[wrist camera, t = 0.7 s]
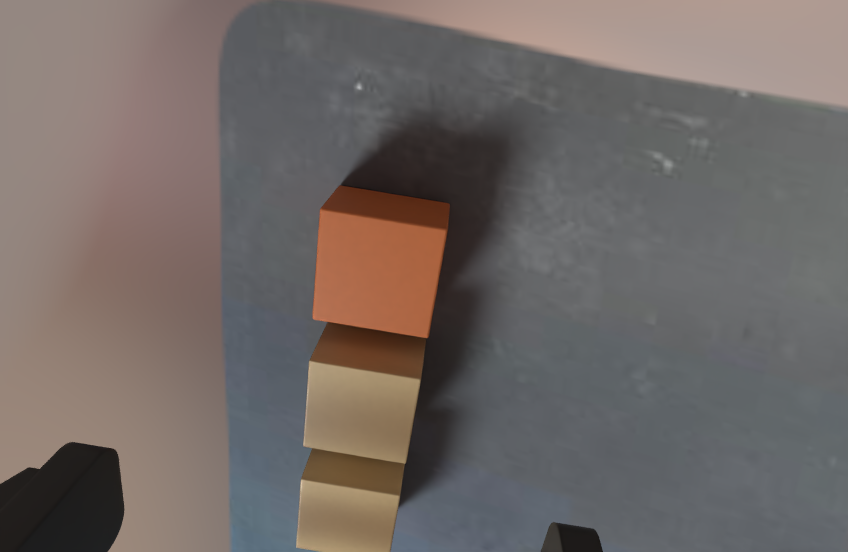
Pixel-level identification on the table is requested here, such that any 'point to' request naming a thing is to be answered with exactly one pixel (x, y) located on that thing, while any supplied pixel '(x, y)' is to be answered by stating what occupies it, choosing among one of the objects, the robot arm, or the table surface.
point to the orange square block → (379, 260)
